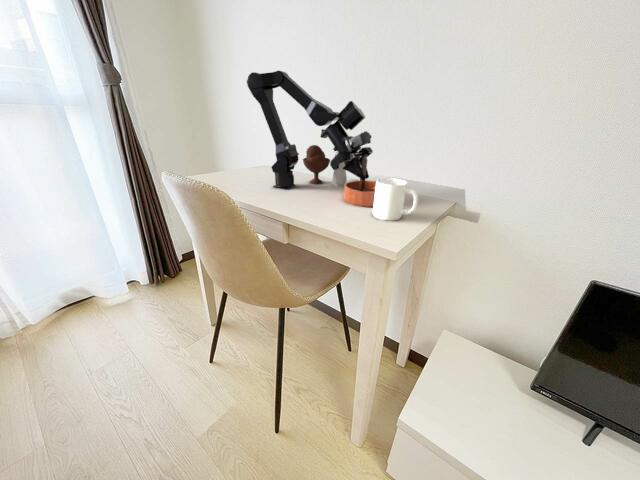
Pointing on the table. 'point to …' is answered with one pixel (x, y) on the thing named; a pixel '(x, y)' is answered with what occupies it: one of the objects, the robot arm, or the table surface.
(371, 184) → the bowl
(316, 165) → the ice cream bowl
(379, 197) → the cup
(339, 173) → the salt shaker
